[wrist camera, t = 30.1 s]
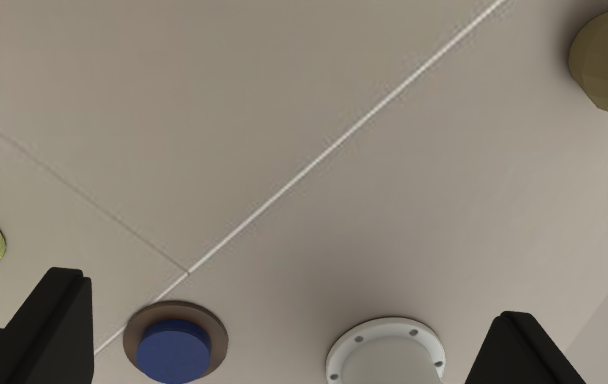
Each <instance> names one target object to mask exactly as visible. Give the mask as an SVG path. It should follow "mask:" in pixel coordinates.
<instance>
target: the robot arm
mask: <svg viewBox="0 0 608 384" xmlns="http://www.w3.org/2000/svg"><path fill="white" fill-rule="evenodd" d="M445 364H446V357H445V351H444V349H443V346H442V344H441V342H440V340H439V338H438V337H437V335H436V334H435V333H434V332H433V331H432V330H431V329H430V328H428V327H427V326H425V325H424V324H422V323H419V322H417V321H414V320H410V319H405V318H393V317H389V318H381V319H376V320H372V321H368V322H365V323H363V324H361V325H358V326H356V327H354V328H353V329H351V330H350V331H348V332H346V333H345V334H344V335H343V336H342V337H341V338H339V339H338V340H337V342H336V343H335V344H334V345H333V347H332V348H331V350H330V352H329V354H328V356H327V360H326V377H327V383H328V384H442V382H441V380H440V379H441V377H442V375H443V372H444V369H445ZM93 374H94V347H93V315H92V283H91V279H90V278H89V277H83V272H82V270H79V269H69V268H59V267H52V268H50V269H49V270H48V271H47V272H46V274H45V275H44V276H43V278H42V279H41V280H40V282H39V283H38V284H37V286H36V287H35V288H34V290H33V291H32V292H31V294H30V295H29V296H28V298H27V299H26V300H25V302H24V303H23V304H22V306H21V307H20V308H19V310H18V311H17V312H16V314H15V315H14V316H13V318H12V319H11V320H10V322H9V323H8V324H7V326H6V327H5V328H4V329H2V328H0V384H91V383H92V379H93ZM465 384H586V383H585V382H584V380H583V379H582V378H581V376H580V375H579V374H578V373H577V371H576V370H575V369H574V368H573V366H572V365H571V364H570V362H569V361H568V360H567V359H566V357H565V356H564V355H563V353H562V352H561V351H560V350H559V348H558V347H557V346H556V345H555V343H554V342H553V341H552V339H551V338H550V337H549V336H548V334H547V333H546V332H545V331H544V329H543V328H542V327H541V325H540V324H539V323H538V322H537V320H536V319H535V318H534V317H533V316H532V315H531V314H529V313H524V312H514V311H504V312H502V313H501V315H500V316H497V317H496V318H495V319H494V320H493V322H492V324H491V327H490V329H489V331H488V333H487V335H486V338H485V340H484V342H483V344H482V346H481V349H480V351H479V353H478V355H477V357H476V360H475V362H474V364H473V366H472V368H471V371H470V373H469V375H468V377H467V379H466V382H465Z"/></svg>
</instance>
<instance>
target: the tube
mask: <svg viewBox="0 0 608 384" xmlns="http://www.w3.org/2000/svg"><path fill="white" fill-rule="evenodd" d="M4 252H5V241H4V238H3V236H2V235H1V233H0V259H1V258H2V257H3V255H4Z"/></svg>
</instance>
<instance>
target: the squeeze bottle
mask: <svg viewBox="0 0 608 384" xmlns="http://www.w3.org/2000/svg"><path fill="white" fill-rule="evenodd" d="M568 64H569V69H570V73H571V76H572V77H573V78H574V80H575V81H576V82H577V83H578V85H579V86H580V87H581V88H582V90H583V91H584V92H585V93H586V95H587V96H588V97H589V98H590V99H591V101H592V102H593V103H594V104H595V105H596V106H597V108H599V109H602V110H605V111H608V11H607V12H605V13H603V14H601V15H599V16H597V17H595V18H593V19H591V20H590V21H589V22H588V23H587V24H586V25H585V26H584V27H583V28H582V29H581V30H580V31H579V33H578V34H577V36H576V38H575V40H574V42H573V44H572V45H571V48H570V54H569V59H568Z"/></svg>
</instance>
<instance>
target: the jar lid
mask: <svg viewBox="0 0 608 384" xmlns="http://www.w3.org/2000/svg"><path fill="white" fill-rule="evenodd" d="M211 350H212V344H211V340H210V338H209V336H208V334H207V333H206V332H205V331H204V330H203V329H202V328H201V327H199V326H198V325H197V324H194V323H192V322H189V321H185V320H179V319H169V320H163V321H160V322H157V323H155V324H153V325H151V326H150V327H149V328H148V329H147V330H146V331H145V332H144V333H143V335H142V337H141V340H140V343H139V345H138V348H137V351H136V361H137V364H138V366H139V368H140V369H141V370H142V372H143V373H144V374H146V375H147V376H148V377H150V378H151V379H153V380H156V381H158V382H161V383H166V384H183V383H188V382H191V381H193V380H195V379H197V378H199V377H200V376H201V375H203V374H204V372H205V371H206V370H207V368H208V366H209V363H210V357H211Z"/></svg>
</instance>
